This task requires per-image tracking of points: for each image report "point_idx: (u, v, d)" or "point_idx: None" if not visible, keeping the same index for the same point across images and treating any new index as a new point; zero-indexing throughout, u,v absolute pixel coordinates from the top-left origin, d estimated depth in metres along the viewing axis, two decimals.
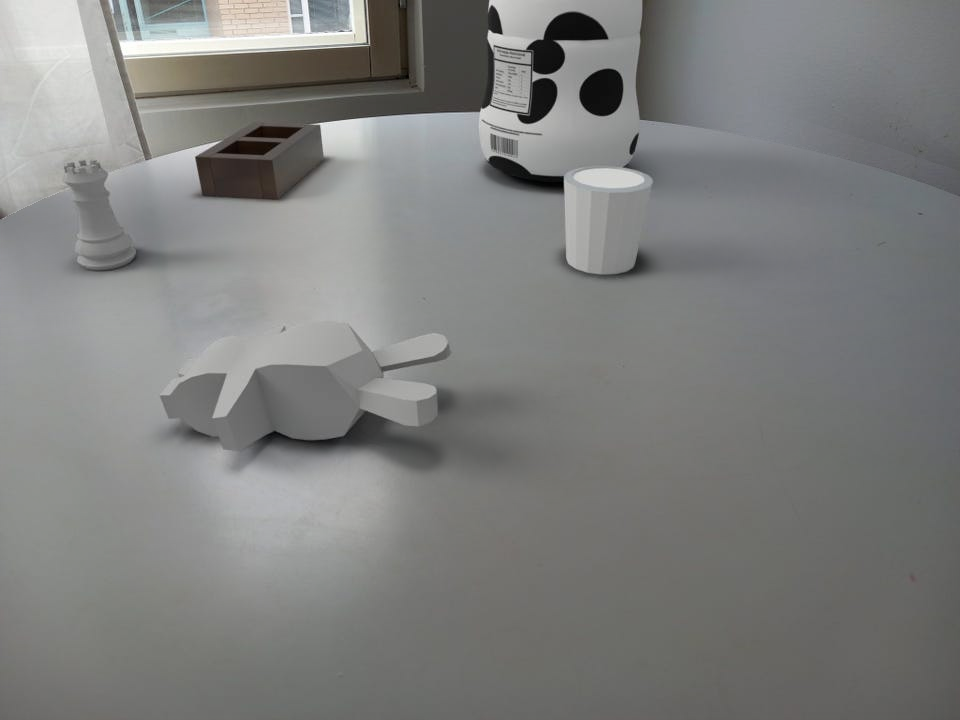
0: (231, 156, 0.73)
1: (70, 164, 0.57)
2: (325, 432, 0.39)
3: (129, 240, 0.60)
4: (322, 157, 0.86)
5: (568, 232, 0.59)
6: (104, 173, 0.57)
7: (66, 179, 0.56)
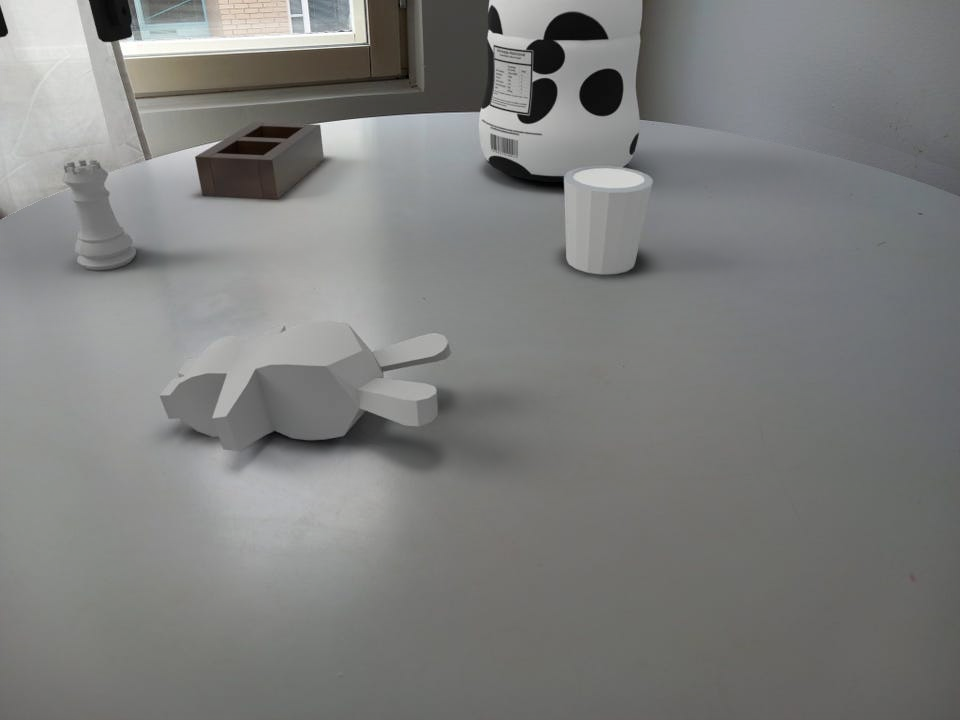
0: (231, 156, 0.73)
1: (70, 164, 0.57)
2: (325, 432, 0.39)
3: (129, 240, 0.60)
4: (322, 157, 0.86)
5: (568, 232, 0.59)
6: (104, 173, 0.57)
7: (66, 179, 0.56)
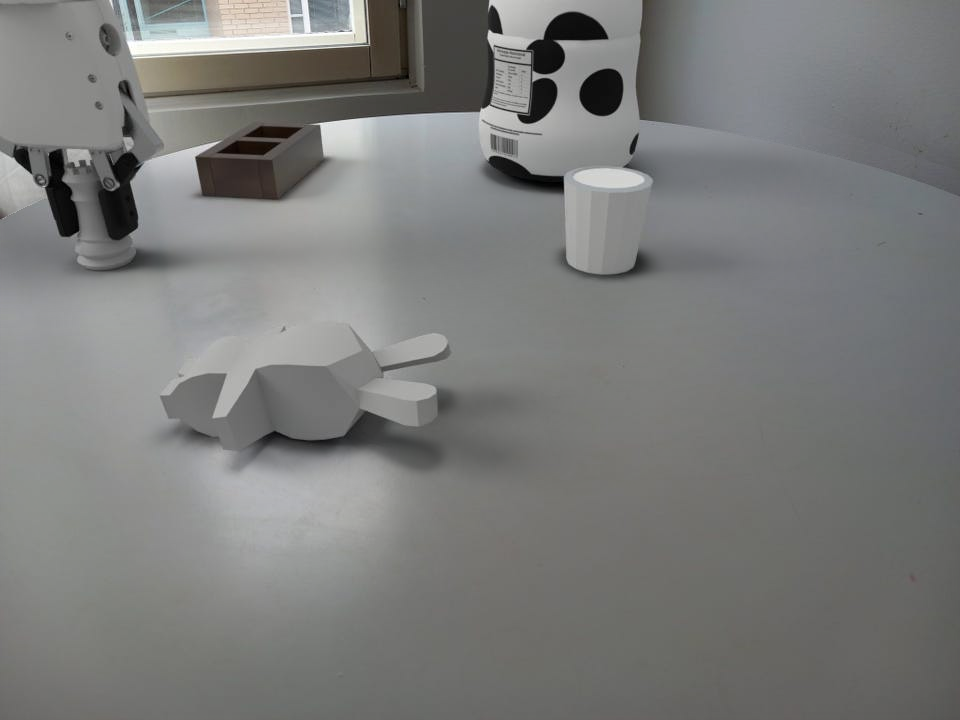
0: (231, 156, 0.73)
1: (70, 164, 0.57)
2: (325, 432, 0.39)
3: (129, 240, 0.60)
4: (322, 157, 0.86)
5: (568, 232, 0.59)
6: None
7: (66, 179, 0.56)
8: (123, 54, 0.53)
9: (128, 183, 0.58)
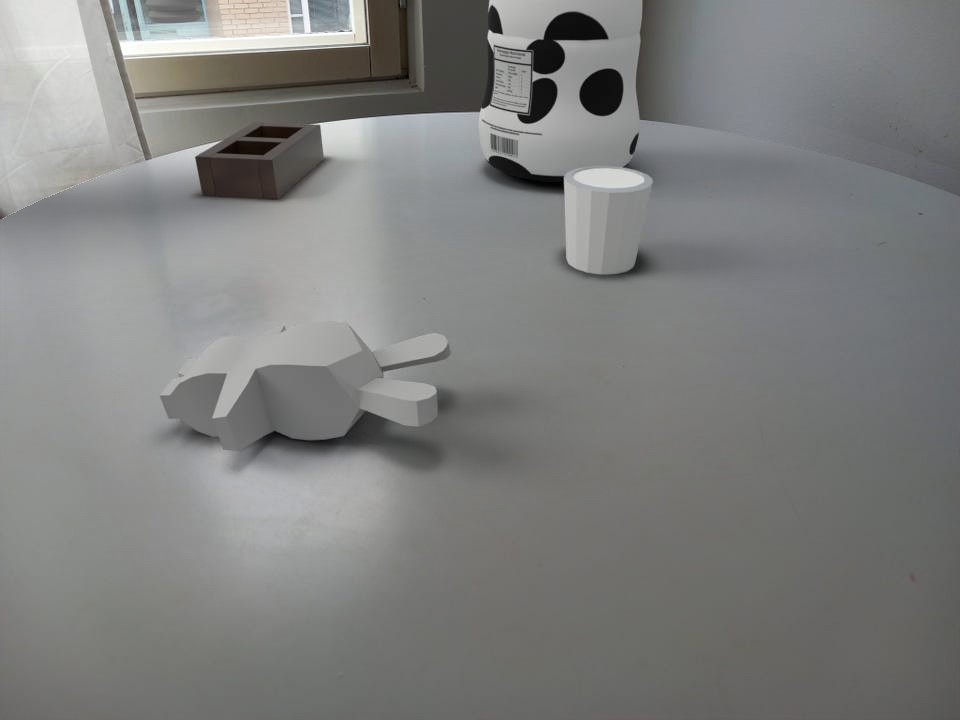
0: (231, 156, 0.73)
1: None
2: (325, 432, 0.39)
3: None
4: (322, 157, 0.86)
5: (568, 232, 0.59)
6: None
7: None
8: None
9: None
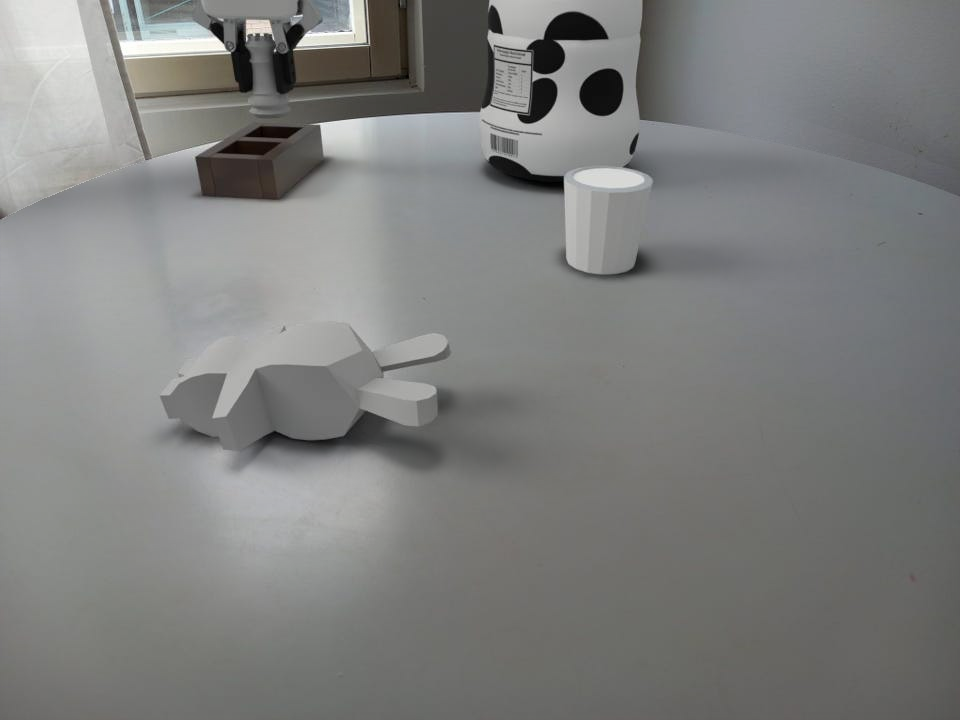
0: (231, 156, 0.73)
1: (251, 35, 0.77)
2: (325, 432, 0.39)
3: (287, 97, 0.80)
4: (322, 157, 0.86)
5: (568, 232, 0.59)
6: None
7: (249, 44, 0.76)
8: None
9: (292, 50, 0.77)
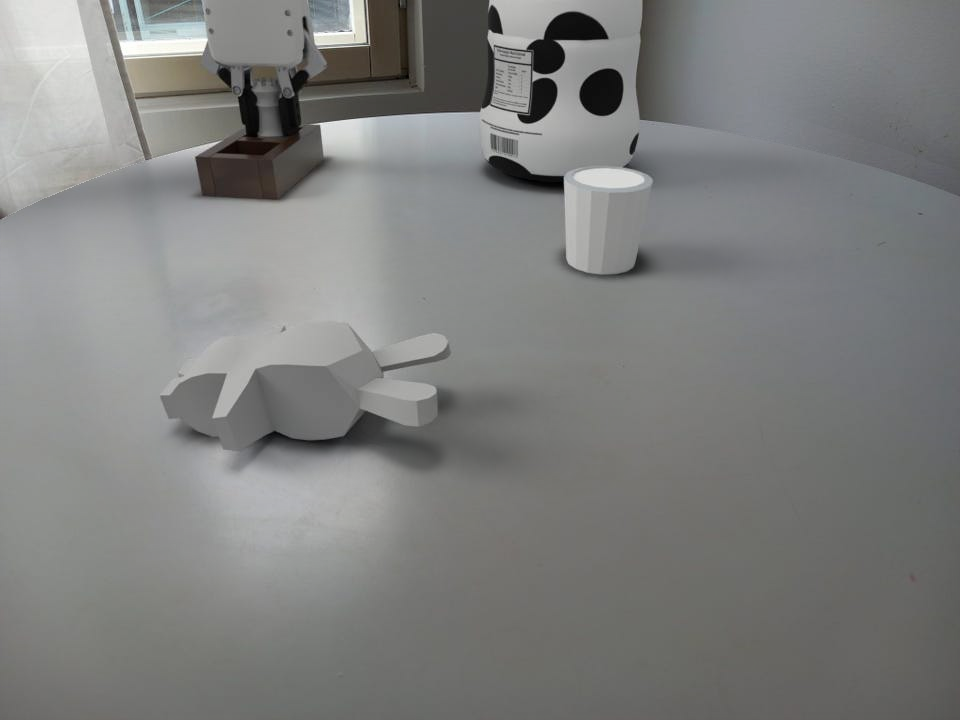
0: (231, 156, 0.73)
1: (257, 80, 0.79)
2: (325, 432, 0.39)
3: None
4: (322, 157, 0.86)
5: (568, 232, 0.59)
6: (280, 86, 0.79)
7: (256, 89, 0.78)
8: None
9: (297, 94, 0.79)
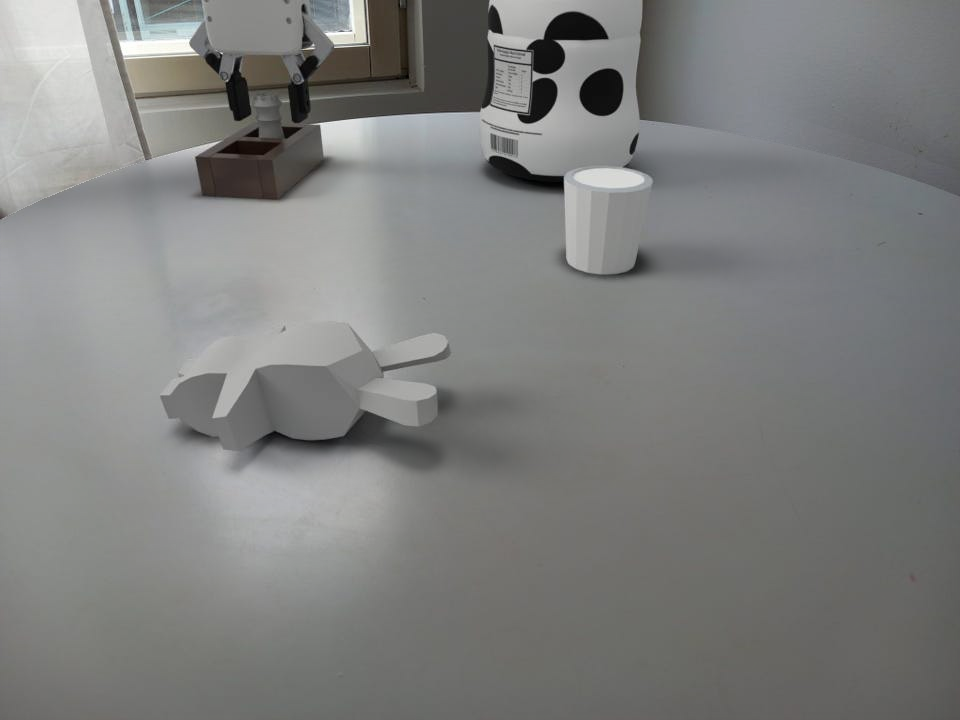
0: (231, 156, 0.73)
1: (257, 94, 0.79)
2: (325, 432, 0.39)
3: None
4: (322, 157, 0.86)
5: (568, 232, 0.59)
6: (280, 101, 0.80)
7: (256, 104, 0.79)
8: None
9: None
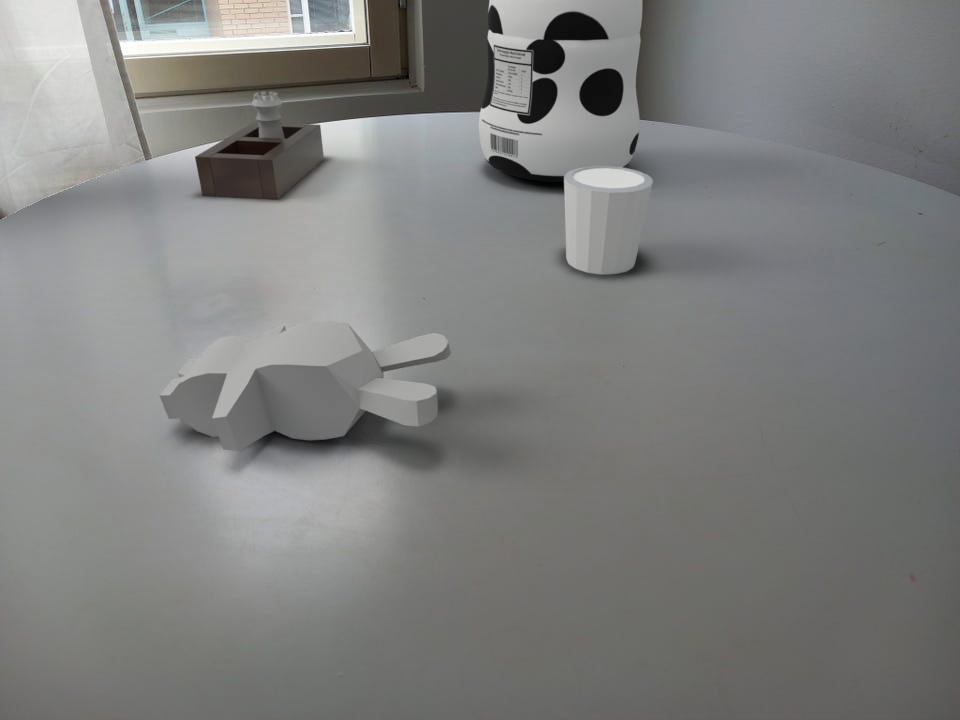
0: (231, 156, 0.73)
1: (257, 94, 0.79)
2: (325, 432, 0.39)
3: None
4: (322, 157, 0.86)
5: (568, 232, 0.59)
6: (280, 101, 0.80)
7: (256, 104, 0.79)
8: None
9: None
